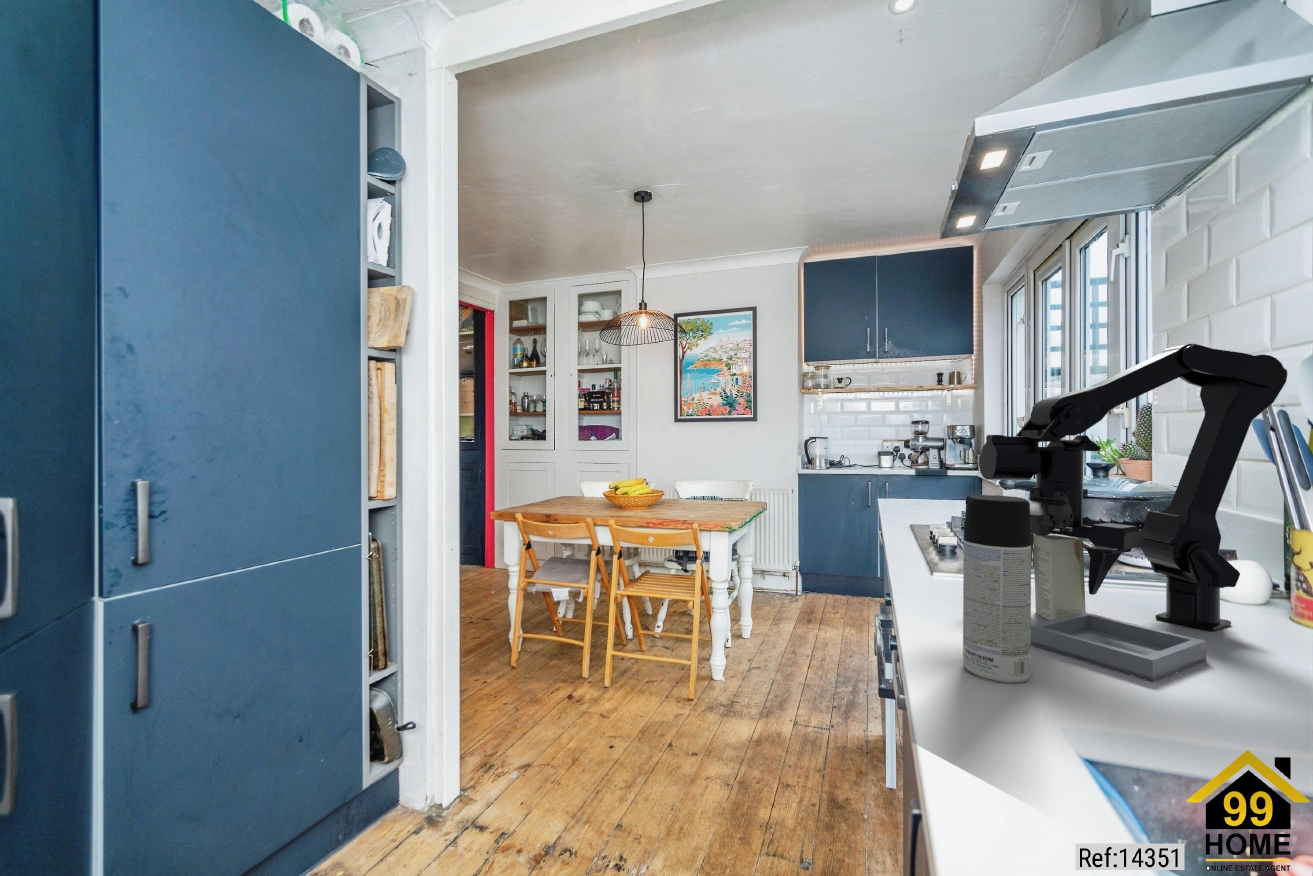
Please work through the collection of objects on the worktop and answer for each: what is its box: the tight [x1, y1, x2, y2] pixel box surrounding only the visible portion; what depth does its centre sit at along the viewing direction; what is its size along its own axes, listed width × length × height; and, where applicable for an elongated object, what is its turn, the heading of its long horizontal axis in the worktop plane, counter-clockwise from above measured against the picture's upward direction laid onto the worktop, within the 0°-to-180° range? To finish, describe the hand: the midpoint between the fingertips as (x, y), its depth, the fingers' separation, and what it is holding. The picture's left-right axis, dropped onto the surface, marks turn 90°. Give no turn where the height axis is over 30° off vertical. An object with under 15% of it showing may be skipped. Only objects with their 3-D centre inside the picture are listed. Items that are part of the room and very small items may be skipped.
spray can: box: [962, 494, 1032, 685], centre depth 65 cm, size 7×7×20 cm
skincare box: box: [1033, 534, 1087, 621], centre depth 85 cm, size 6×4×12 cm
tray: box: [1031, 611, 1207, 683], centre depth 71 cm, size 13×13×2 cm
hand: (1057, 586), depth 85 cm, fingers open, 9 cm apart
